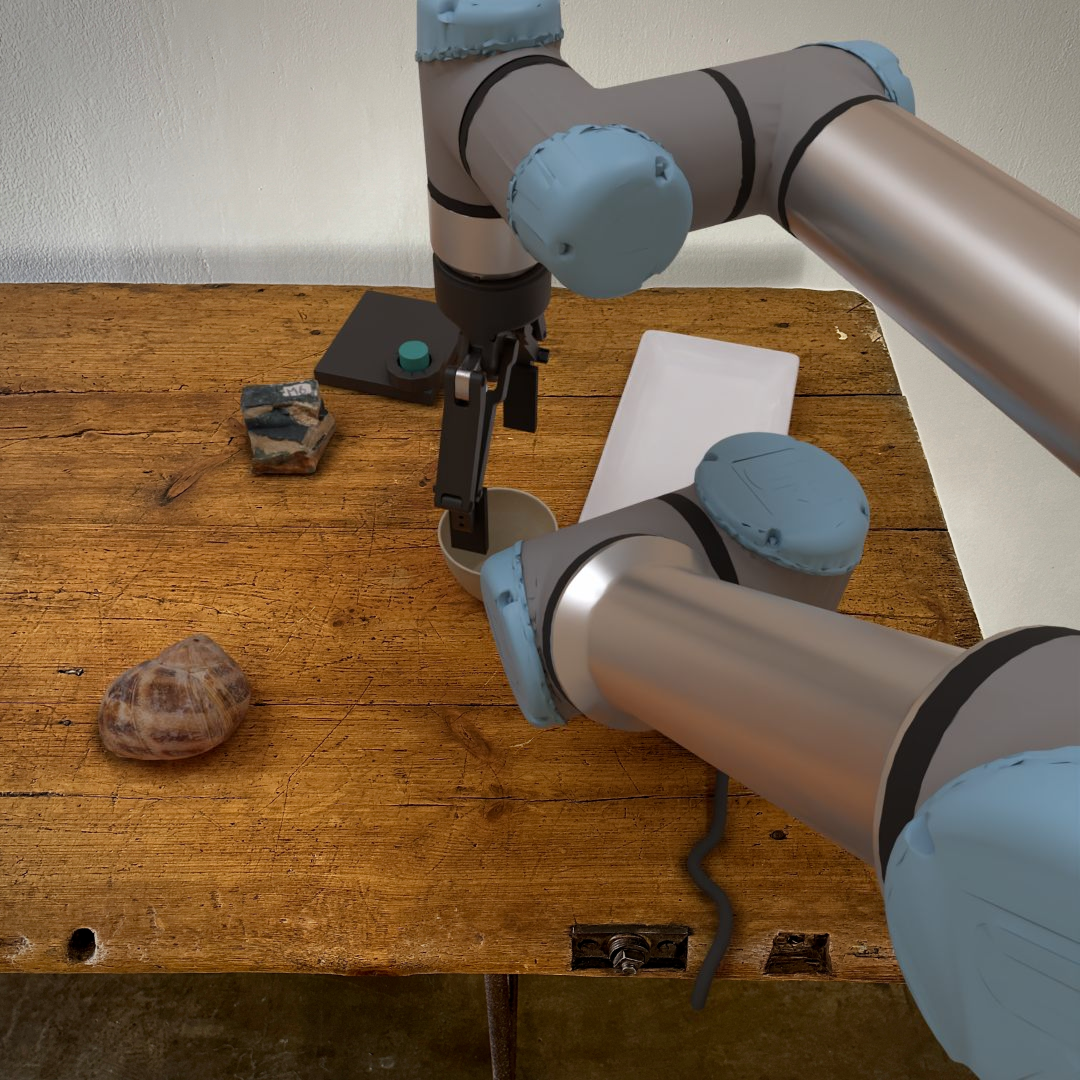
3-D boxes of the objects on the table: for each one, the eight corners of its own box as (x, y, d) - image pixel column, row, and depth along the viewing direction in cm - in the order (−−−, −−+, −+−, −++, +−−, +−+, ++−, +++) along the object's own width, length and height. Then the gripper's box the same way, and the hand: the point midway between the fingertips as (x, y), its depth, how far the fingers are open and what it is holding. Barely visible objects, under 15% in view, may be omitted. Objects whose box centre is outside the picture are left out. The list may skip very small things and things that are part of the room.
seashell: (186, 631, 81) (201, 601, 72) (258, 713, 81) (282, 692, 73) (74, 716, 75) (77, 694, 67) (153, 803, 76) (165, 792, 67)
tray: (569, 559, 88) (571, 533, 85) (642, 349, 108) (645, 324, 105) (756, 602, 85) (764, 577, 82) (795, 379, 105) (802, 353, 102)
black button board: (434, 409, 101) (432, 383, 98) (313, 385, 103) (308, 359, 100) (479, 322, 110) (478, 296, 108) (368, 301, 112) (364, 276, 110)
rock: (251, 482, 93) (238, 439, 89) (250, 417, 99) (238, 374, 95) (341, 471, 94) (333, 428, 90) (336, 408, 100) (328, 364, 96)
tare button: (423, 374, 99) (422, 361, 98) (396, 369, 100) (394, 355, 99) (433, 356, 101) (432, 343, 100) (406, 351, 102) (404, 338, 100)
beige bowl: (543, 638, 82) (545, 586, 77) (429, 617, 83) (423, 565, 78) (565, 550, 88) (568, 496, 83) (458, 532, 90) (455, 478, 84)
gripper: (491, 385, 52) (496, 618, 68) (596, 160, 68) (579, 392, 84) (360, 360, 53) (395, 594, 69) (493, 144, 69) (496, 376, 85)
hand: (496, 484), depth 77 cm, fingers open, 13 cm apart
